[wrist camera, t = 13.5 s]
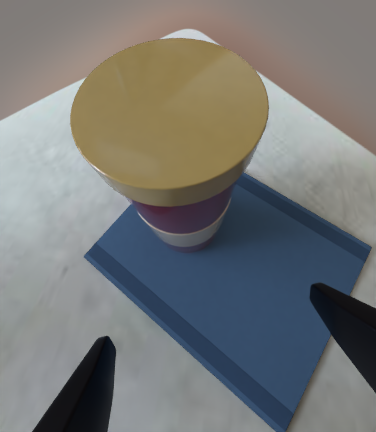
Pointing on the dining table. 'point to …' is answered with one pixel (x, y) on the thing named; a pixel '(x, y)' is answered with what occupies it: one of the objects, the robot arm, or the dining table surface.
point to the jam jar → (172, 132)
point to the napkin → (240, 292)
